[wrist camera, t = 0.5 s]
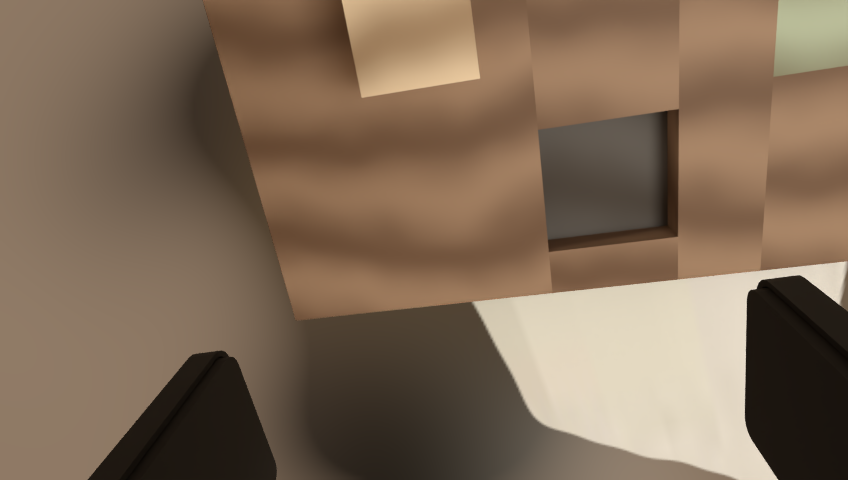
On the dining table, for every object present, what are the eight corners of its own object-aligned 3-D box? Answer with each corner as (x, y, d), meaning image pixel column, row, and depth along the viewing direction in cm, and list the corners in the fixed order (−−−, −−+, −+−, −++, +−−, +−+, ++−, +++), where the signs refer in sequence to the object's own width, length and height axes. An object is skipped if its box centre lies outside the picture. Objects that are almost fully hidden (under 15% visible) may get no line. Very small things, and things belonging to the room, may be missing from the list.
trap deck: (206, -50, 32) (186, -55, 30) (1248, -268, 25) (1325, -296, 23) (305, 303, 41) (295, 320, 39) (1099, 214, 34) (1144, 229, 32)
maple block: (356, -26, 30) (334, -33, 25) (464, -48, 29) (463, -58, 25) (377, 85, 32) (361, 97, 28) (478, 68, 31) (480, 78, 27)
